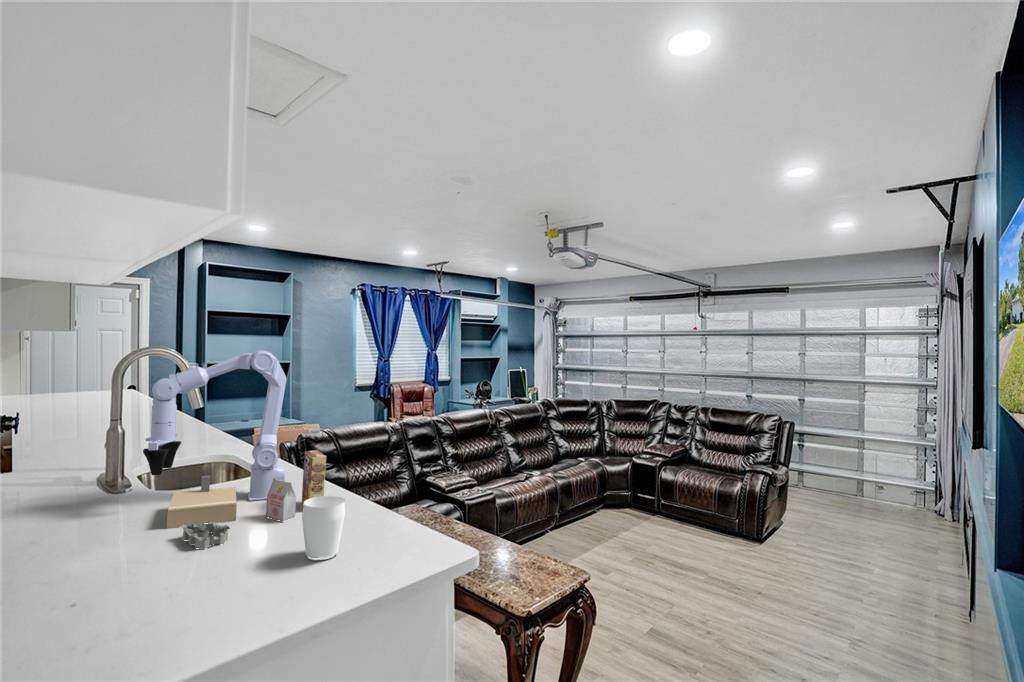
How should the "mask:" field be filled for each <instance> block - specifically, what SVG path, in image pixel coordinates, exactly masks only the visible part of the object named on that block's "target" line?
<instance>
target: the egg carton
mask: <svg viewBox="0 0 1024 682" xmlns="http://www.w3.org/2000/svg"><path fill="white" fill-rule="evenodd" d="M181 528H182V530H183V532H182V541H183V540H189V541H188V545H189V544H190V545H189V546H192V545H191V544H195V545H194V549H195V548H204V549H203V550H206V549H205V548H208V547H209V546H210V545H212V546H214V545H213V544H223V545H225V544H224V543H226V542H225V541H227V542H228V538H229V532H228V530H230V529H231V528H230V526H229V525H227V524H224V525H221V524H217V523H213V522H211V521H210V522H209V523H208V524H204V522H202V523H196V524H191V525H182V527H181ZM208 532H212V533H211V536H210V537H209V533H208ZM212 535H213V536H212ZM207 538H208V539H207ZM210 547H211V546H210ZM210 547H209V548H210ZM209 548H208V549H209Z"/></svg>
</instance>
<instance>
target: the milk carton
mask: <svg viewBox="0 0 1024 682" xmlns="http://www.w3.org/2000/svg"><path fill="white" fill-rule="evenodd" d="M296 502H297V496H296V493H295V491H294V489H293V485H292V482H290V481H286V480H285V481H282V480H278V479H273V482H272V485H271V488H270V490H269V493H268V495H267V499H266V516H265V518H266V517H269V518H272V519H271V520H273V519H275V520H274V521H276V520H280V521H285V520H288V519H291V518H294V517H295V518H296ZM269 518H268V519H269Z"/></svg>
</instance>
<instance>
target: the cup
mask: <svg viewBox="0 0 1024 682" xmlns="http://www.w3.org/2000/svg"><path fill="white" fill-rule="evenodd" d="M302 505H303V504H302ZM302 508H303V509H302V514H301V520H302V528H303V529H302V530H303V540H304V541H303V542H304V550H305V556H306V555H307V556H308V557H311V558H319V557H327V556H331V555H333V554H335V553H337V552H338V553H339V548H340V544H341V543H340V542H341V537H342V533H343V527H344V522H345V516H346V500H345V498H343V497H341V496H336V495H324V496H319V497H313V498H310V499H307V500H305V501H304V505H303V506H302Z"/></svg>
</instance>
